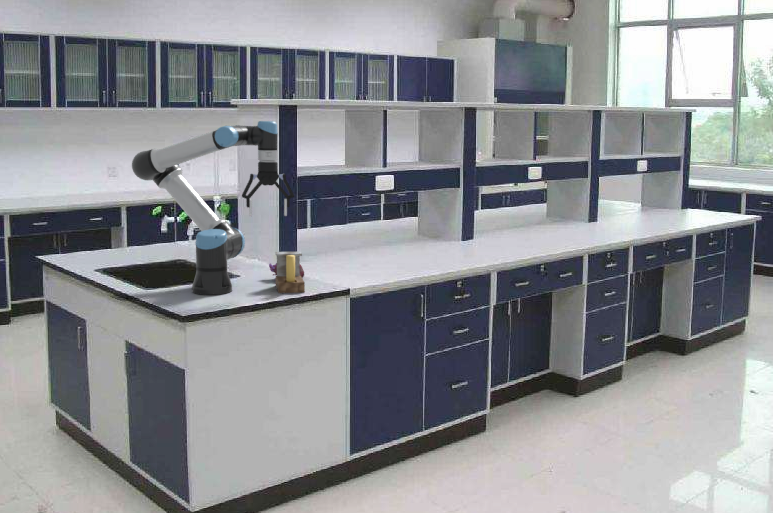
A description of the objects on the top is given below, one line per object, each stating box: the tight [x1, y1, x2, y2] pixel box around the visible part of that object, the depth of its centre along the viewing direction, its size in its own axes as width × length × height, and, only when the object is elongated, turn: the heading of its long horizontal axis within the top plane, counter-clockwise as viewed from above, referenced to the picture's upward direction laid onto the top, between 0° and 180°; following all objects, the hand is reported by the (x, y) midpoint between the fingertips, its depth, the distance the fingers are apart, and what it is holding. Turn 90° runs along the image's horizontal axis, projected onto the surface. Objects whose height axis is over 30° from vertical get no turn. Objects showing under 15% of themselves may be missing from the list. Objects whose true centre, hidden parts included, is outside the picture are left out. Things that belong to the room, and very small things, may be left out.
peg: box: [286, 255, 295, 282], centre depth 326 cm, size 3×3×14 cm
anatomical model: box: [268, 262, 305, 280], centre depth 350 cm, size 12×10×15 cm
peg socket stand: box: [274, 251, 306, 294], centre depth 330 cm, size 10×14×14 cm
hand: (268, 215), depth 329 cm, fingers open, 13 cm apart
